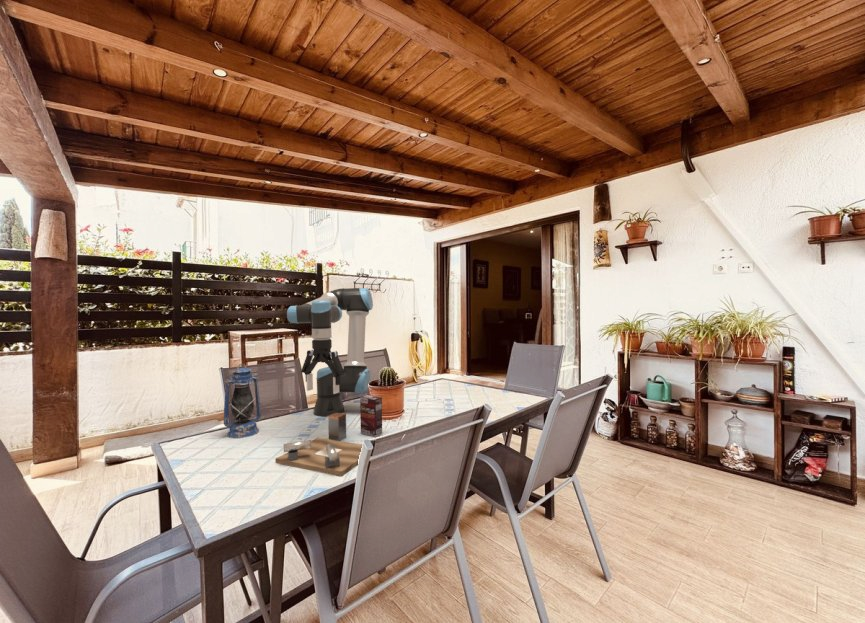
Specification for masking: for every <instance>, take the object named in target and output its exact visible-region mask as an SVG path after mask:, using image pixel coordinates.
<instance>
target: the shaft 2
mask: <svg viewBox="0 0 865 623" xmlns="http://www.w3.org/2000/svg"><path fill="white" fill-rule="evenodd" d="M326 451H327V454H328V457H325V467H326V469H327V468H333V467H339V466H340V458H339V456H338V455H337V453H336V450H335V447H334V445H333V444H331V443H330V444H328V445H327V446H326Z"/></svg>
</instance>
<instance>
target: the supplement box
mask: <svg viewBox="0 0 865 623" xmlns="http://www.w3.org/2000/svg"><path fill="white" fill-rule="evenodd" d="M359 401H360V402H359V406H360V407H359V408H360V409H359V410H360V412H359V415H360V417H359V418H360V434H361V435H366V436H369V435H370V437H373V436H374V438H377V437H379V436H381V435H383V397H382V396H375V395H368V394H365V395H362V396H360V398H359Z"/></svg>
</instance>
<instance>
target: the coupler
mask: <svg viewBox="0 0 865 623" xmlns="http://www.w3.org/2000/svg"><path fill="white" fill-rule="evenodd" d="M327 419H328V420H327V421H328V422H327V423H328V439H330V440H336V441H344V440H345V439H347V413H344V412H343V413H334V414H332V415H329V416H327Z"/></svg>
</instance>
